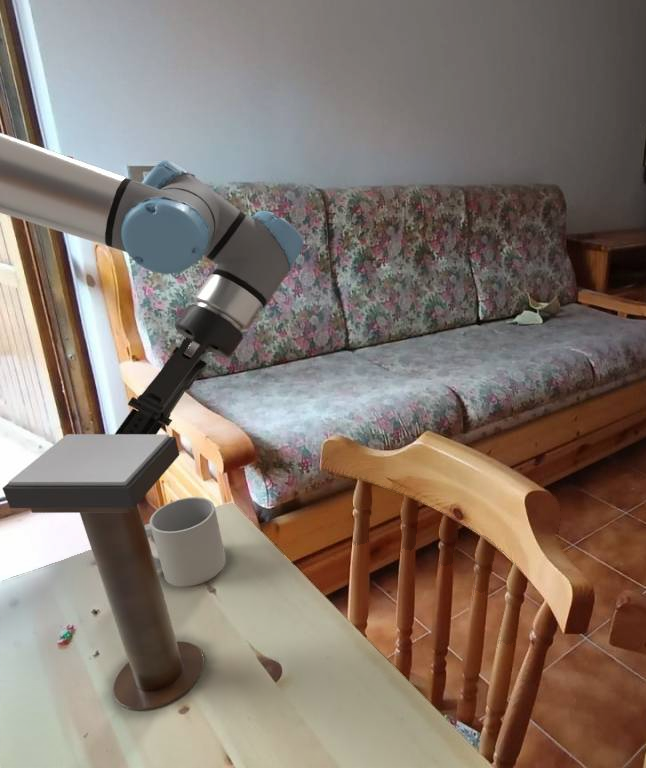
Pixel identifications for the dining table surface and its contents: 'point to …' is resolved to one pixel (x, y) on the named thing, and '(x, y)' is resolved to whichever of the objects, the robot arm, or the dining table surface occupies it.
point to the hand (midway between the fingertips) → (115, 464)
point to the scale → (93, 471)
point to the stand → (138, 610)
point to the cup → (187, 541)
